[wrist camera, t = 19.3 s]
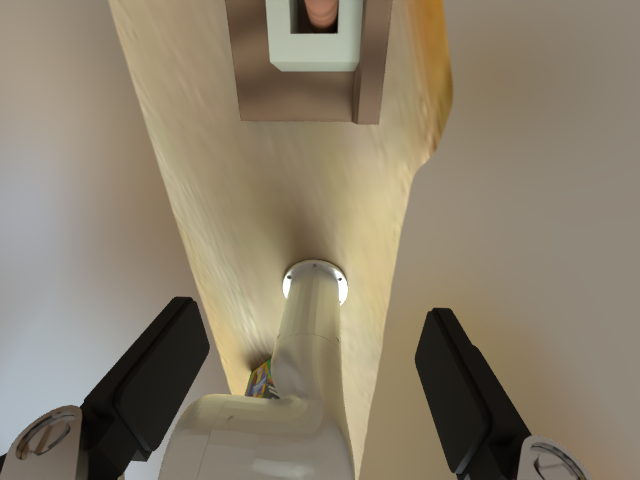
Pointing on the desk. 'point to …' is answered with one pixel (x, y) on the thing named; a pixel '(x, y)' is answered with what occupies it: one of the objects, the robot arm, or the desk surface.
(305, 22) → the brown wooden stand
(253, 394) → the chalk box
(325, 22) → the dowel
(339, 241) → the desk surface
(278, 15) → the sage block
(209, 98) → the desk surface
